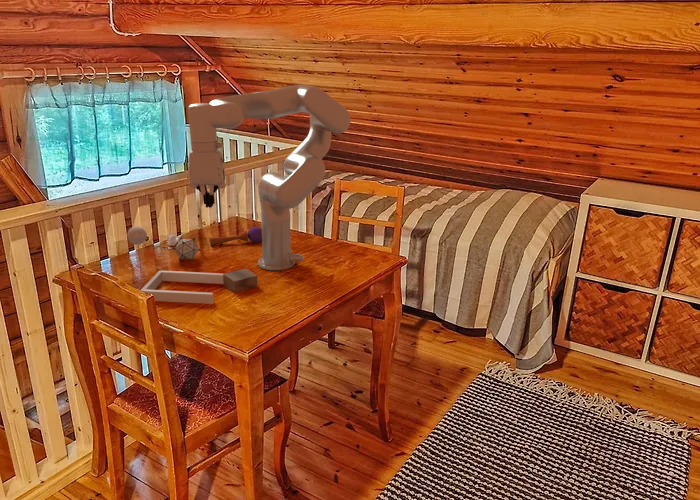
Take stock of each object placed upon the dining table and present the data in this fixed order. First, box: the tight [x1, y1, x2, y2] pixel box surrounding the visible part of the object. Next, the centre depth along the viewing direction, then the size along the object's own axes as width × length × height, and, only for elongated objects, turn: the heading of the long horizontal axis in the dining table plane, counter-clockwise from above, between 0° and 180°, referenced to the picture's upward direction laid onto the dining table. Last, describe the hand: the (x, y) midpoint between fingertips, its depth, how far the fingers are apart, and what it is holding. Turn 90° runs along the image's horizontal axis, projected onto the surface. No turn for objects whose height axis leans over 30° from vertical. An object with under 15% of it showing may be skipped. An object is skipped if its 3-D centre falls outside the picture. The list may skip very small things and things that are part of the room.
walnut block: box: [222, 268, 258, 294], centre depth 177 cm, size 8×7×4 cm
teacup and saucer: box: [167, 233, 180, 250], centre depth 209 cm, size 9×8×4 cm
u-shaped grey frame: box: [140, 270, 224, 305], centre depth 172 cm, size 21×15×3 cm
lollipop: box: [126, 225, 148, 271], centre depth 184 cm, size 6×6×15 cm
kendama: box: [208, 226, 262, 247], centre depth 212 cm, size 6×6×20 cm
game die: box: [172, 236, 201, 262], centre depth 195 cm, size 9×8×10 cm
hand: (209, 206), depth 174 cm, fingers closed
